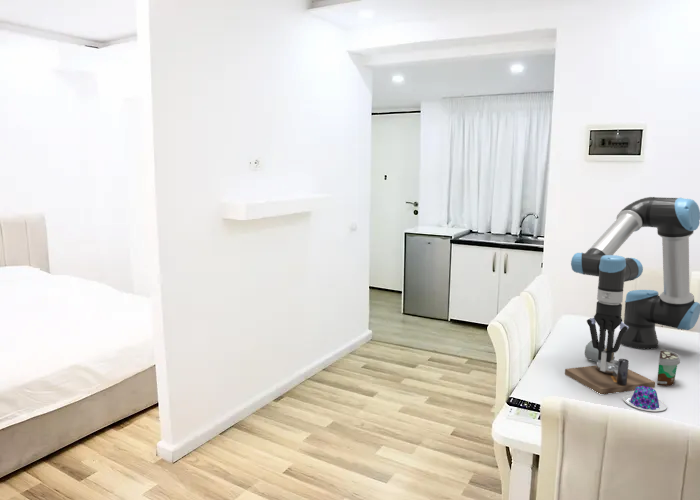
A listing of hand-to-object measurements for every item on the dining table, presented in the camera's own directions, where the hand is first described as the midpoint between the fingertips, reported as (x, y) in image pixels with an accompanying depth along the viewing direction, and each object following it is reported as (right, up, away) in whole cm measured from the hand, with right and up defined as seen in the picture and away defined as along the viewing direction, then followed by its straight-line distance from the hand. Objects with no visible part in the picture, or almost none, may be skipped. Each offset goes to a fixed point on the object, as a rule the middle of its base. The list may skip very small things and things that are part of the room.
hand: (603, 369), depth 174 cm
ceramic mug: (+12, -3, +26) cm, 29 cm away
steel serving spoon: (+7, -3, +7) cm, 11 cm away
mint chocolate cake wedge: (+25, -6, +6) cm, 27 cm away
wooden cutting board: (+5, -5, +7) cm, 11 cm away
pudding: (+8, -9, -10) cm, 16 cm away
